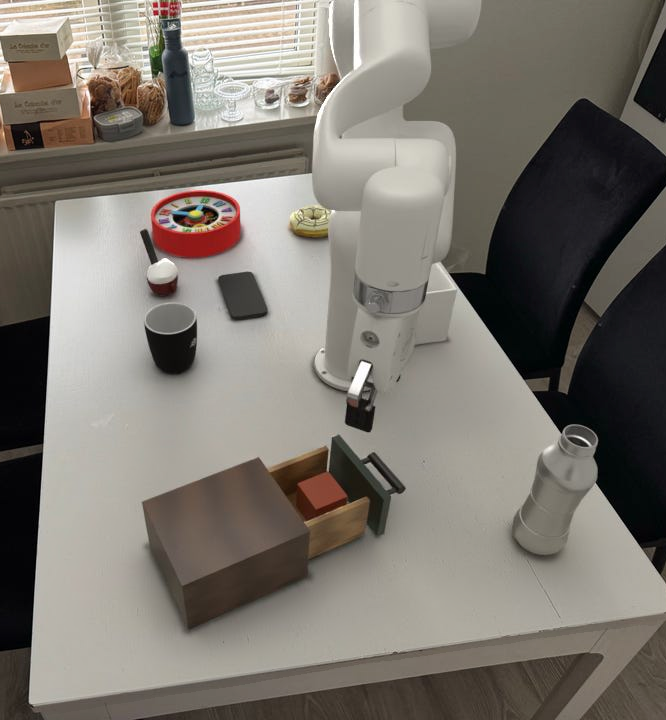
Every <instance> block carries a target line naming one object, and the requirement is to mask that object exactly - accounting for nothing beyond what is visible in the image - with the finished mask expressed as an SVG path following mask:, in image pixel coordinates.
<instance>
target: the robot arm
mask: <svg viewBox="0 0 666 720" xmlns="http://www.w3.org/2000/svg"><path fill="white" fill-rule="evenodd" d="M482 1H483V0H331V2H330V6H329V13H328V14H329V15H328V16H329V18H328V25H329V27H328V28H329V38H330V46H331V51H332V55H333V59H334V63H335V66H336V69H337V72H338V73H337V74H338V76H339V79H340V81H339V83H337V85H336V86H335V87H334V88H332V90H331V92H330V93H329V94H328V95H327V97H326V99H325V100H324V102H323V104H322V105H321V107H320V109H319V112H318V113H317V117H316V121H315V125H314V130H313V138H312V139H313V140H312V141H313V142H312V145H313V146H312V162H311V163H312V164H311V183H312V185H311V186H312V191H313V195H314V198H315V199H316V201H317V203H318V205H320V206H322V207H324V208H326V209H329V210H332V212H331V214H330V217H329V222H328V235H327V238H328V244H329V245H328V247H329V258H330V259H329V263H330V265H329V266H330V269H329V270H330V271H329V272H330V273H329V289H328V303H327V315H326V328H325V344H324V346H323V347H322V348H321V349H320V350H318V352H317V354H316V355H315V358H314V371H315V373H316V375H317V377H318V378H319V379H320V380H321V381H322V382H324V383H325V384H326V385H328V386H329V387H331V388H333V389H337V390H340V391H344V392H347V393H346V399H345V401H346V403H345V404H346V406H345V415H344V424H345V425H346V426H347V427H351V428H353V429H356V430H359V431H361V432H365V433H367V434H368V433H369V434H370V433H371V432H372V430H373V428H374V421H375V413H376V406H375V405H374V404H375V400H376V397H377V394H378V392H380V393H383V394H387V393H388V392H390V391H391V390H392V389H393V387H395V384H396V383H398V382H399V381H400V380H401V375H402V372H403V370H404V368H405V367H406V365H407V362H408V361H409V360H410V357H411V356H412V353H413V351H414V348H415V346H416V345H415V338H416V331H417V323H418V315H419V310H420V309H421V308H422V307H423V305H424V302H425V297H426V292H427V286H428V281H429V276H430V271H431V266H432V264H435V263H438V264H439V263H440V262H442V261H443V260H444V259H446V257H447V256H448V253H449V252H450V248H451V244H452V238H453V226H454V225H453V224H454V206H455V189H456V187H455V185H456V170H457V169H456V168H457V147H456V146H457V144H456V139H455V136H454V133H453V130H452V129H451V127H449V126H448V125H447V124H445V123H443V122H441V121H435V120H406V119H405V118H404V105H406V104H408V103H409V102H411V101H412V100H414V99H415V98H416V97H418V96H419V95H420V94H421V93H422V92H423V91H424V90H425V88H426V86H427V85H428V84H429V80H430V78H431V74H432V58H431V50H434V49H437V50H438V49H447V48H452V47H457V46H459V45H462V44H464V43H466V42H467V41H468V40H469V39H470V38H471V36H473V34H474V32H475V31H476V29H477V26H478V23H479V20H480V16H481V11H482ZM340 137H341V138H340ZM367 391H370V392H369V395H368V397H367V399H366V398H363V393H364V392H367Z"/></svg>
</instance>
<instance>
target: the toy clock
mask: <svg viewBox="0 0 666 720" xmlns="http://www.w3.org/2000/svg"><path fill="white" fill-rule="evenodd" d="M150 220H151V230H152V238H153V243H154V244H155V246H156V247H157V248H158V249H159V250H161V251H162V252H164V253H166V254H168V255H172V256H175V257H180V258H188V259H189V258H192V259H193V258H206V257H211V256H215V255H218V254H220V253H223V252H225V251H227V250H229V249H231V248H232V247H234V246H235V245H236V244H237V243H238V242H239V241H240V238H241V235H242V234H241V233H242V226H241V206H240V203H239V202H238V201H237V200H236V199H235V198H233V196H230V195H228V194H226V193H223V192H220V191H215V190H204V189H199V190H197V189H196V190H186V191H182V192H177V193H174V194H171V195H168V196H166V197H164V198H162V199H161V200H159V201H158V202H157V203H156V204H155V205H153V206H152V209H151V211H150Z"/></svg>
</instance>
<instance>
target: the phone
mask: <svg viewBox="0 0 666 720" xmlns="http://www.w3.org/2000/svg"><path fill="white" fill-rule="evenodd" d="M217 278H218V279H217V280H218V285H219V287H220V290H221V293H222V296H223V299H224V302H225V305H226V308H227V310H228V314H229V317H230V318H231V319H232V320H243V319H249V318H256V317H263V316H266V315H267V314H269V308H268V307H267V306H268V305H267V303H266V300H265V299H264V296H263V294H262V291H261V288H260V286H259V284H258V282H257V280H256V278H255V275H254V273H253V272H252V271H247V270H246V271H239V272H233V273H226V274H221V275H219V276H218V277H217Z"/></svg>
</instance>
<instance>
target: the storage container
mask: <svg viewBox="0 0 666 720" xmlns="http://www.w3.org/2000/svg"><path fill="white" fill-rule="evenodd" d="M439 264H440V263H439V262H438V263H435V264H432V266H431V271H430V276H429V281H428V286H427V292H426V297H425V302H424V305H423V307H422V308H421V309H420V310H419V315H418V323H417V331H416V338H415V345H414V346H416V345H422V344H430V343H436V342H444V341H447V337H448V334H449V330H450V324H451V319H452V317H453V312H454V307H455V301H456V298H457V293H458V288H457V287H456V286H455V284H454V283H453V282H452V280H451V279H450V278H449V276H448V275H447V274H446V272H445V271H444V269H443V268H442V267H441V266H440V265H439Z"/></svg>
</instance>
